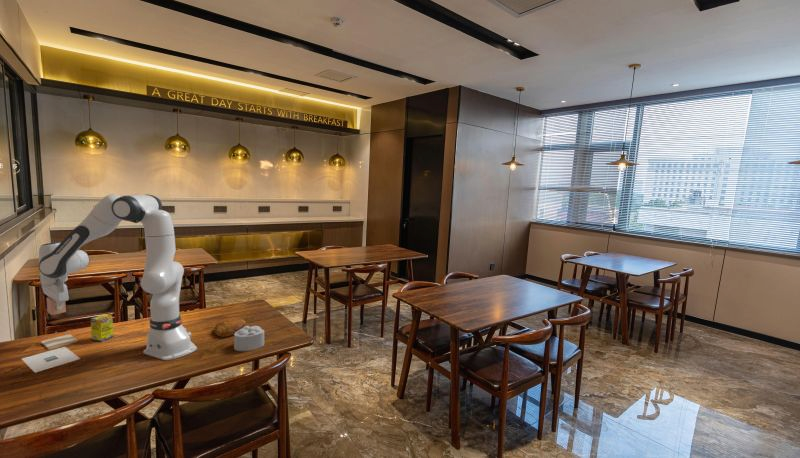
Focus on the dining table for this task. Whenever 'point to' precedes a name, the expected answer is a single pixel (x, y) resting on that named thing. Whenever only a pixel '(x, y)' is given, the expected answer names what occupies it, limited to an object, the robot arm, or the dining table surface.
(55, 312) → the terracotta block
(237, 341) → the lumpy-topped squat cylinder
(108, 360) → the dining table surface
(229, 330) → the croissant
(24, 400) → the dining table surface
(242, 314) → the dining table surface
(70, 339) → the coaster
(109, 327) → the supplement box
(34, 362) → the mat
